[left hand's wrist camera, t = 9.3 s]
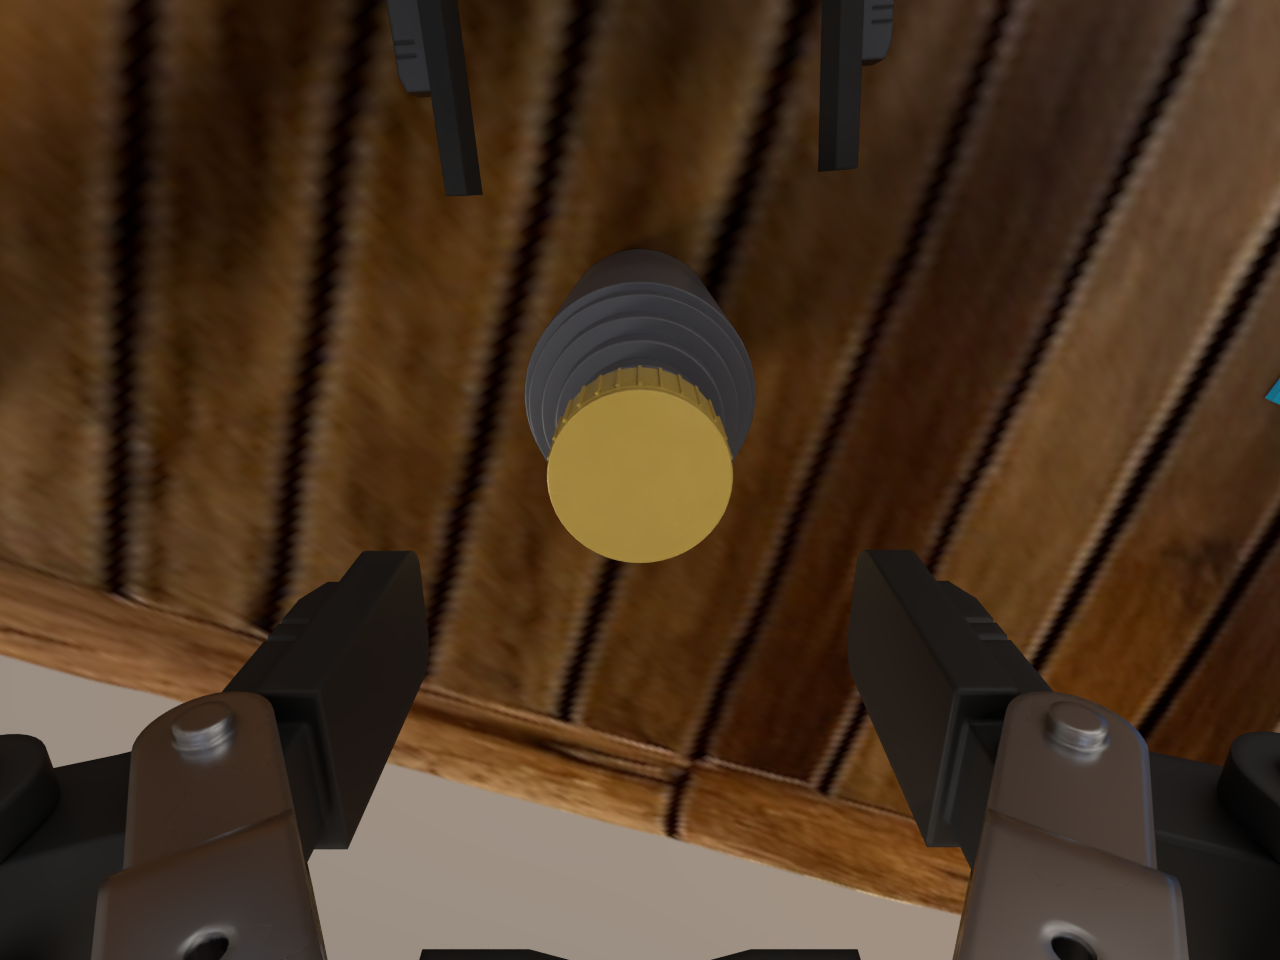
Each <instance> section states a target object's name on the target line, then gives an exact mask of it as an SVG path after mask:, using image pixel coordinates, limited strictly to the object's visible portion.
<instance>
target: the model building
mask: <svg viewBox="0 0 1280 960" xmlns="http://www.w3.org/2000/svg"><path fill="white" fill-rule="evenodd" d="M1265 398H1266V399H1268V400H1270V401H1272V402H1275V403H1277V404H1279V405H1280V379H1279V380H1278V381H1277V383H1276V384H1275V385H1274V386H1273V388H1272V389H1271V390H1270V392H1269V393H1268V394H1267V396H1266V397H1265Z"/></svg>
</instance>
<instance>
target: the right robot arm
mask: <svg viewBox="0 0 1280 960" xmlns="http://www.w3.org/2000/svg"><path fill="white" fill-rule="evenodd" d="M386 1H387V7H388V13H389V20H390V26H391V32H392V38H393V42H394V51H395V56H396V63H397V69H398V75H399V78H400V80H401V82H402V84H403V86H404V88H405V89H406V91H407V93H409V94H412V95H414V96H416V97H431V99H432V105H433V112H434V119H435V126H436V132H437V139H438V146H439V152H440V159H441V166H442V173H443V179H444V186H445V193H446V196H469V195H483V194H482V186H481V179H480V171H479V164H478V156H477V148H476V141H475V133H474V126H473V118H472V110H471V103H470V95H469V88H468V80H467V72H466V65H465V57H464V49H463V42H462V34H461V27H460V19H459V11H458V4H457V0H386ZM893 5H894V0H822V26H821V70H820V115H819V159H818V172H821V171H836V170H845V169H854V168H858V145H859V120H860V95H861V71H862V66H869V65H874V64H876V63H878V62H880V61H881V60H883V59H885V57H886V55H887V52H888V50H889V47H890V44H891V42H892V28H893V22H892V21H893Z"/></svg>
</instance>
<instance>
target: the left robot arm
mask: <svg viewBox="0 0 1280 960" xmlns="http://www.w3.org/2000/svg"><path fill="white" fill-rule="evenodd" d="M428 653H429V638H428V629H427V621H426V613H425V605H424V597H423V588H422V580H421V572H420V565H419V560H418V557H417V555H416V553H415V552H414V551H364V552H362V553H361V554H360V556H359V557H358V558H357V559H356V561H355V562H354V563H353V565H352V566H351V567H350V568H349V570H348V571H347V572H346V574H345V575H344V576H343V578H342V579H341V580H340V581H339V582H327V583H325V584H324V585H322V586H320V587H319V588H317V589H315V590H314V591H312V592H311V593H309V594H307V595H306V596H304V597H303V598H301V599H299V600H298V602H297V603H296V604H295V605H294V606H293V608H292V609H291V610H290V611H289V612H288V614H287V615H286V616H285V617H284V618H283V620H282V624H278V626H277V627H276V628H275V629H274V630H273V631H272V633H271V634H270V635H269V636H268V641H264V642H263V643H262V645H261V646H260V647H259V648H258V649H257V651H256V652H255V653H254V654H253V655H252V657H251V658H250V659H249V660H248V661H247V663H246V664H245V665H244V666H243V667H242V668H241V670H240V671H239V672H238V673H237V674H236V676H235V677H234V678H233V679H232V680H231V682H230V683H229V684H228V685H227V686H226V688H225V689H224V690H223V691H222V692H221V693H214V694H210V695H206V696H202V697H199V698H196V699H193V700H190V701H188V702H186V703H183V704H181V705H179V706H177V707H175V708H173V709H171V710H169V711H167V712H166V713H164V714H163V715H161V716H159V717H158V718H157V719H155V720H154V721H153V722H151V723H150V724H149V725H148V726H147V727H146V728H145V729H144V730H143V731H142V732H141V733H140V735H139V736H138V737H137V739H136V741H135V742H134V744H133V747H132V751H131V752H127V753H123V754H119V755H114V756H110V757H105V758H100V759H95V760H90V761H85V762H81V763H76V764H71V765H66V766H62V767H57V768H53V766H52V763H51V760H50V758H49V755H48V752H47V750H46V747H45V745H44V744H43V742H42V741H41V740H39V739H37V738H36V737H32V736H29V735H22V734H6V735H0V960H327V955H326V950H325V945H324V940H323V936H322V931H321V926H320V921H319V916H318V911H317V906H316V901H315V896H314V892H313V886H312V882H311V877H310V873H309V868H308V864H307V862H308V860H309V858H310V856H311V854H312V852H313V850H314V849H348V847H349V845H350V843H351V840H352V838H353V836H354V834H355V831H356V829H357V827H358V825H359V822H360V820H361V818H362V816H363V813H364V811H365V809H366V807H367V804H368V802H369V800H370V798H371V796H372V793H373V791H374V789H375V786H376V784H377V782H378V780H379V777H380V775H381V773H382V771H383V769H384V766H385V764H386V762H387V760H388V757H389V755H390V753H391V751H392V748H393V746H394V744H395V742H396V739H397V737H398V735H399V733H400V730H401V728H402V726H403V724H404V721H405V719H406V717H407V715H408V712H409V710H410V708H411V706H412V704H413V701H414V699H415V697H416V695H417V692H418V690H419V688H420V686H421V683H422V681H423V679H424V676H425V673H426V668H427V663H428ZM848 660H849V666H850V671H851V674H852V677H853V680H854V682H855V684H856V686H857V689H858V691H859V693H860V695H861V698H862V700H863V702H864V705H865V707H866V709H867V711H868V714H869V716H870V718H871V721H872V723H873V725H874V727H875V730H876V732H877V734H878V736H879V739H880V741H881V743H882V746H883V748H884V750H885V752H886V755H887V757H888V759H889V762H890V764H891V766H892V768H893V771H894V773H895V775H896V777H897V780H898V782H899V784H900V787H901V789H902V791H903V793H904V796H905V798H906V800H907V803H908V805H909V807H910V809H911V812H912V814H913V816H914V818H915V821H916V823H917V825H918V828H919V830H920V832H921V834H922V837H923V839H924V841H925V844H926V846H927V847H961V849H962V851H963V853H964V855H965V857H966V859H967V861H968V863H969V866H970V868H971V873H970V877H969V882H968V886H967V891H966V896H965V901H964V906H963V911H962V916H961V921H960V926H959V931H958V935H957V940H956V945H955V950H954V955H953V960H1280V733H1274V732H1252V733H1247V734H1243V735H1241V736H1239V737H1237V738H1236V739H1235V740H1234V741H1233V743H1232V745H1231V747H1230V750H1229V753H1228V756H1227V758H1226V761H1225V764H1224V767H1222V766H1217V765H1212V764H1207V763H1202V762H1198V761H1193V760H1188V759H1183V758H1178V757H1174V756H1169V755H1164V754H1159V753H1155V752H1151V751H1148V747H1147V744H1146V742H1145V740H1144V739H1143V737H1142V736H1141V735H1140V733H1139V732H1138V731H1137V730H1136V729H1135V728H1134V727H1133V726H1132V725H1131V724H1130V723H1129V722H1127V721H1126V720H1125V719H1123V718H1122V717H1121V716H1119V715H1118V714H1116V713H1114V712H1113V711H1111V710H1109V709H1107V708H1105V707H1103V706H1101V705H1099V704H1097V703H1094V702H1092V701H1090V700H1087V699H1084V698H1081V697H1078V696H1074V695H1070V694H1066V693H1059V692H1053V691H1052V689H1051V688H1050V687H1049V686H1048V685H1047V683H1046V682H1045V681H1044V680H1043V678H1042V677H1041V676H1040V675H1039V674H1038V672H1037V671H1036V670H1035V669H1034V668H1033V666H1032V665H1031V664H1030V663H1029V662H1028V660H1027V659H1026V658H1025V657H1024V656H1023V654H1022V653H1021V652H1020V651H1019V650H1018V648H1017V647H1016V646H1015V645H1014V644H1013V642H1012V641H1011V640H1007V635H1006V634H1005V633H1004V631H1003V630H1002V629H1001V628H1000V627H999V625H998V624H997V623H993V618H992V617H991V616H990V615H989V613H988V612H987V611H986V610H985V609H984V607H983V606H982V605H981V604H980V603H979V601H978V600H977V599H976V598H975V597H973V596H971V595H970V594H968V593H967V592H965V591H963V590H962V589H960V588H959V587H957V586H955V585H954V584H952V583H950V582H949V581H936V580H935V579H934V577H933V576H932V575H931V573H930V572H929V571H928V569H927V568H926V567H925V565H924V564H923V563H922V562H921V560H920V559H919V558H918V556H917V555H916V554H915V553H914V552H913V551H912V550H863V551H861V552H860V554H859V557H858V560H857V565H856V572H855V580H854V589H853V597H852V605H851V614H850V622H849V631H848ZM419 960H567V959H564V958H560V957H556V956H552V955H549V954H545V953H541V952H537V951H534V950H530V949H423V950H422V952H421V956H420V959H419ZM713 960H861V959H860V956H859V952H858V950H857V949H750V950H747V951H743V952H739V953H735V954H731V955H728V956H724V957H720V958H716V959H713Z"/></svg>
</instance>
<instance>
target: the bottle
mask: <svg viewBox="0 0 1280 960" xmlns="http://www.w3.org/2000/svg"><path fill="white" fill-rule="evenodd" d="M638 365H641V366H642V367H643V368H653V369H658V368H662V370H663V371H666V372H669V373H672V374H674V375H676V376H677V375H678V374H679V375H681V377H682V378H683V379H684V380H686V381H687V382H689V383H690V384H692V385H693V386H695V385H696V386H698V389H699V391H700V392H701V393H702V394H703V396H704V397H705V398H706V399H707V400H708V399H710V400H711V403H712V405H713V408H714V411H715V414H716V416H720V419H721V422H722V424H723V427H724V430H725V433H726V436H727V439H728V440H727V442H728V445H729V448H730V451H731V454H732V457H733V460H731V461H732V462H733V461H734V459H735V457H736V456H737V454H738V452H739V450H740V449H741V447H742V445H743V443H744V441H745V439H746V436H747V434H748V431H749V429H750V426H751V422H752V418H753V414H754V406H755V381H754V374H753V369H752V365H751V362H750V358H749V355H748V353H747V351H746V348H745V346H744V344H743V342H742V340H741V339H740V337H739V335H738V334H737V332H736V331H735V329H734V328H733V326H732V325H731V323H730V322H729V320H728V319H727V317H726V316H725V315H724V313H723V312H722V310H721V309H720V307H719V306H718V305H717V303H716V302H715V300H714V299H713V297H712V296H711V294H710V293H709V292H708V290H707V289H706V287H705V286H704V284H703V283H702V281H701V280H700V279H699V278H698V276H697V275H696V274H695V273H694V272H693V271H692V270H691V269H690V268H689V267H688V266H687V265H685V264H684V263H682V262H681V261H679V260H678V259H676V258H674V257H672V256H670V255H667V254H665V253H662V252H658V251H653V250H645V249H635V250H627V251H622V252H618V253H615V254H613V255H610V256H608V257H606V258H604V259H602V260H601V261H599V262H598V263H596V264H595V265H594V266H592V267H591V268H590V269H589V270H588V271H587V272H586V273H585V274H584V275H583V276H582V278H581V279H580V280H579V281H578V283H577V284H576V286H575V287H574V289H573V290H572V292H571V293H570V294H569V296H568V297H567V299H566V300H565V302H564V303H563V304H562V306H561V307H560V309H559V310H558V312H557V313H556V315H555V316H554V317H553V319H552V320H551V322H550V323H549V325H548V326H547V328H546V329H545V330H544V332H543V334H542V335H541V337H540V339H539V340H538V342H537V344H536V346H535V348H534V351H533V353H532V355H531V358H530V362H529V365H528V369H527V374H526V381H525V406H526V414H527V418H528V422H529V426H530V429H531V432H532V434H533V436H534V439H535V441H536V443H537V445H538V447H539V449H540V450H541V452H542V454H543V456H544V457H545V459H546V461H547V462H548V461H549V460H547V457H548V454H549V451H550V448H551V445H552V443H553V440H552V438H553V436H554V433H555V430H556V427H557V424H558V422H559V419H560V416H562V417H563V416H564V414H565V411H566V408H567V405H568V402H569V400H570V399H571V400H573V399H574V398H575V397H576V396H577V394H578V393H579V392H580V391H581V388H582V386H584V385H585V386H587V385H588V384H590V383H591V382H593V381H594V380H596V379H597V378H598V376H599V375H601V374H602V376H604V375H606V374H608V373H611V372H614V371H617V370H618V368H621V369H626V368H637V367H638Z"/></svg>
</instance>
